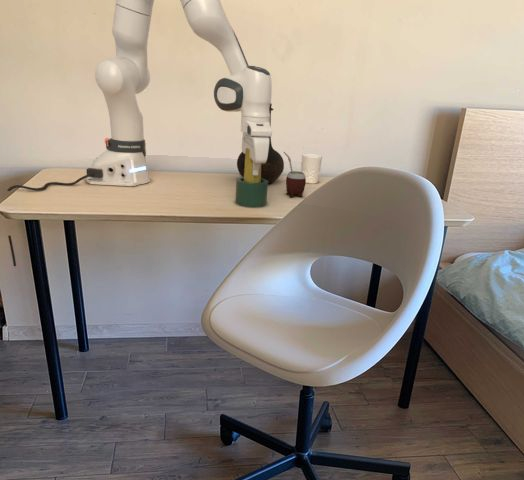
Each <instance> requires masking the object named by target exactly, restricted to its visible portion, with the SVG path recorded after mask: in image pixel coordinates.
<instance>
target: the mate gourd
mask: <svg viewBox="0 0 524 480" xmlns="http://www.w3.org/2000/svg"><path fill="white" fill-rule="evenodd" d="M283 154H284V155H285V156H286V157H287V160H288V162H289V167H290V171H289V172H288V173H287V175H286V178H285V186H286V193H285V195H287V196H289V198H290V199H291V198H295V197H297V198H303V197H304V196H303V194H304V191H305V187H306V184H307V183H306V177H305V174H304V173H302V172H301V171H294V170H293V166H292V165H293V164H292V159H291V157H290V156H289V154H288V153H286V151H283Z"/></svg>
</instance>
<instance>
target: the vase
mask: <svg viewBox="0 0 524 480" xmlns="http://www.w3.org/2000/svg"><path fill="white" fill-rule="evenodd" d="M249 152H250V150H247V148H246V152H245V169H244V182H248V183H261V163H260V167H259V171H258V175H253V174H252V169H253V160H251V159H250V158H249Z"/></svg>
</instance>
